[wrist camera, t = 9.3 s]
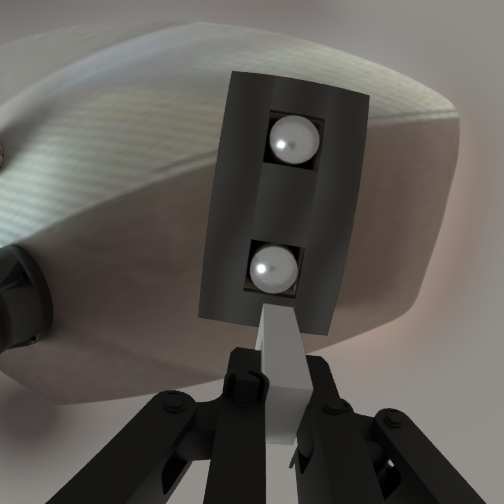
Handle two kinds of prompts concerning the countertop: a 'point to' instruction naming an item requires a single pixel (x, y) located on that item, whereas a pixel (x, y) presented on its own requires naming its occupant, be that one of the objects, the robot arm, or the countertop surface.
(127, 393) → the countertop surface
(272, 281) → the steel peg
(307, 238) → the block
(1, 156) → the figurine
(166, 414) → the robot arm
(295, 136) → the steel peg
